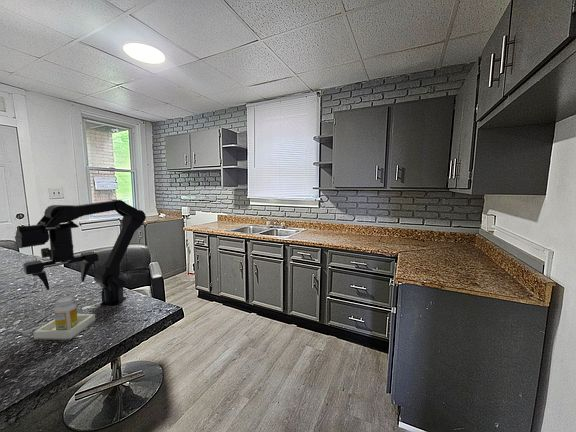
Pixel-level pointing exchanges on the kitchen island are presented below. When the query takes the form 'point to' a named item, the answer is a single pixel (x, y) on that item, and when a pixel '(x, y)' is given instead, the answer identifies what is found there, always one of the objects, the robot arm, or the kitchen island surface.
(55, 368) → the kitchen island surface
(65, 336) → the tray
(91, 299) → the kitchen island surface
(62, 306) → the supplement bottle
